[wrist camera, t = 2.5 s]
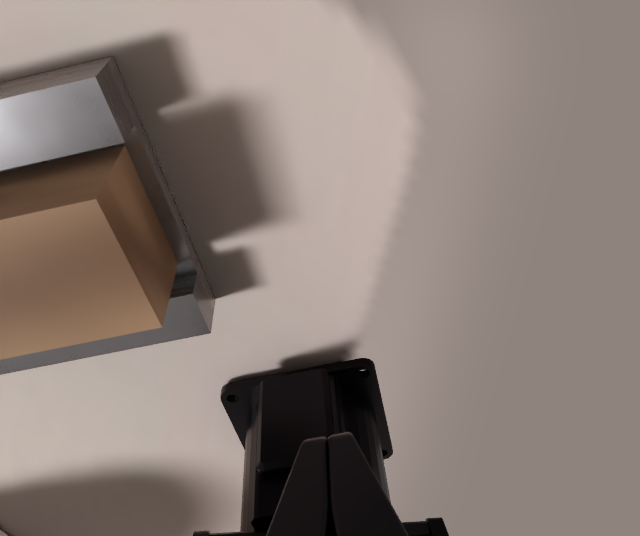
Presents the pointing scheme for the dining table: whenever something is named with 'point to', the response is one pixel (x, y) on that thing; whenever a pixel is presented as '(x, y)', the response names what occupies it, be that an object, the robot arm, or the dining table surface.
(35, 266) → the tan wooden brick
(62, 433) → the dining table surface
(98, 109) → the rail bed
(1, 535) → the jar
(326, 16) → the dining table surface
